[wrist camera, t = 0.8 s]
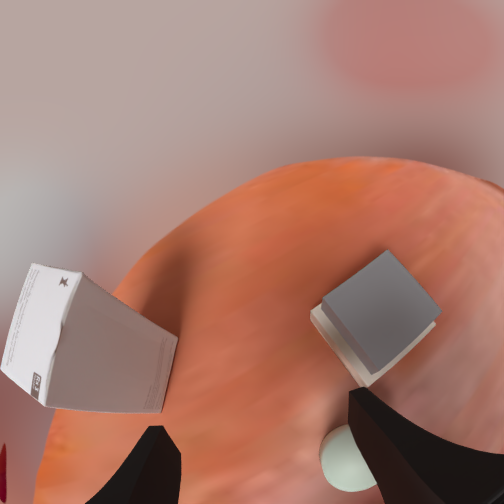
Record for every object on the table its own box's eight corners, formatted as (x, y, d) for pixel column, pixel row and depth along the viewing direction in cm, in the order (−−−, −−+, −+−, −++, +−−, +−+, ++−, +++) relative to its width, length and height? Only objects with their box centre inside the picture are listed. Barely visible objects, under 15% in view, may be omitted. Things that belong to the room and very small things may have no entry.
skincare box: (134, 326, 27) (32, 254, 15) (183, 338, 26) (83, 263, 13) (114, 399, 23) (-6, 366, 11) (163, 419, 22) (38, 406, 9)
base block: (423, 333, 22) (436, 324, 19) (360, 389, 21) (368, 386, 18) (373, 274, 26) (379, 259, 24) (310, 321, 25) (310, 310, 23)
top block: (430, 321, 20) (442, 311, 18) (371, 375, 19) (379, 370, 17) (381, 263, 23) (387, 249, 21) (320, 308, 22) (322, 297, 20)
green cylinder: (387, 452, 17) (406, 461, 13) (338, 486, 16) (345, 503, 12) (357, 412, 19) (370, 413, 15) (307, 445, 19) (308, 455, 15)
